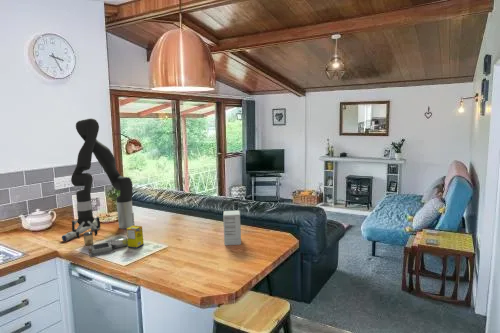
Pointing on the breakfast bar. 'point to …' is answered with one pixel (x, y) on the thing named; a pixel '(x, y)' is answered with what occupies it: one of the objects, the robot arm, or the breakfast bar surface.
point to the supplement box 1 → (135, 236)
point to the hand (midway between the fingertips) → (87, 236)
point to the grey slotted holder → (107, 247)
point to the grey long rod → (83, 229)
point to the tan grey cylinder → (88, 238)
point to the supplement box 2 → (232, 227)
